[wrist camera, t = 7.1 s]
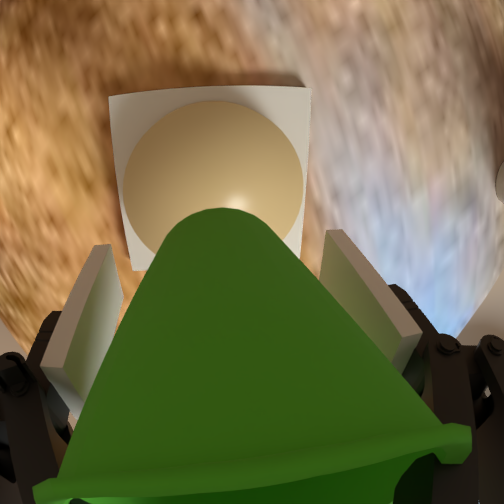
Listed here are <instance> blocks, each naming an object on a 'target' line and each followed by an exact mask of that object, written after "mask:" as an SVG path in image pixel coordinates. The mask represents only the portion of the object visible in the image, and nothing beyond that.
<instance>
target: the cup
mask: <svg viewBox="0 0 504 504" xmlns="http://www.w3.org/2000/svg"><path fill="white" fill-rule="evenodd" d="M471 451H472V435H471V427H470V426H465V425H460V424H456V423H448V424H442V423H441V422H440V421H439V419H438V418H437V417H436V416H435V414H434V413H433V412H432V411H431V410H430V408H429V407H428V406H427V405H426V404H425V402H424V401H423V400H422V399H421V398H420V396H419V395H418V394H417V393H416V392H415V390H414V389H413V388H412V387H411V386H410V384H409V383H408V382H407V381H406V380H405V379H404V377H403V376H402V375H401V374H400V373H399V371H398V370H397V369H396V368H395V367H394V366H393V364H392V363H391V362H390V361H389V360H388V359H387V357H386V356H385V355H384V354H383V353H382V352H381V351H380V349H379V348H378V347H377V346H376V345H375V344H374V342H373V341H372V340H371V339H370V338H369V337H368V336H367V334H366V333H365V332H364V331H363V330H362V329H361V328H360V326H359V325H358V324H357V323H356V322H355V321H354V320H353V318H352V317H351V316H350V315H349V314H348V313H347V312H346V311H345V309H344V308H343V307H342V306H341V305H340V304H339V303H338V302H337V300H336V299H335V298H334V297H333V296H332V295H331V294H330V293H329V291H328V290H327V289H326V288H325V287H324V286H323V285H322V284H321V283H320V281H319V280H318V279H317V278H316V277H315V276H314V275H313V274H312V273H311V271H310V270H309V269H308V268H307V267H306V266H305V265H304V264H303V263H302V262H301V261H300V259H299V258H298V257H297V256H296V255H295V254H294V253H293V252H292V251H291V250H290V249H289V247H288V246H287V245H286V244H285V243H284V242H283V241H282V240H281V239H280V238H279V237H278V236H277V234H276V233H275V232H274V231H273V230H272V229H271V228H270V227H269V226H268V225H267V224H266V223H265V222H264V221H262V220H261V219H259V218H258V217H256V216H255V215H253V214H250V213H248V212H245V211H242V210H240V209H233V208H225V207H220V208H211V209H205V210H202V211H199V212H196V213H193V214H191V215H189V216H188V217H186V218H184V219H183V220H181V221H180V222H178V223H177V224H176V225H175V226H174V227H173V228H172V229H171V230H170V232H169V233H168V234H167V235H166V237H165V239H164V241H163V242H162V244H161V246H160V248H159V250H158V251H157V253H156V255H155V257H154V259H153V261H152V263H151V264H150V266H149V268H148V270H147V272H146V274H145V276H144V278H143V280H142V281H141V283H140V285H139V287H138V289H137V291H136V293H135V295H134V297H133V299H132V301H131V303H130V305H129V307H128V309H127V311H126V313H125V315H124V317H123V319H122V321H121V323H120V325H119V327H118V329H117V332H116V334H115V336H114V338H113V340H112V342H111V344H110V346H109V349H108V351H107V353H106V355H105V357H104V360H103V362H102V364H101V366H100V368H99V371H98V373H97V375H96V378H95V380H94V382H93V385H92V387H91V389H90V392H89V394H88V396H87V399H86V401H85V404H84V406H83V409H82V411H81V413H80V416H79V419H78V421H77V424H76V426H75V429H74V431H73V434H72V437H71V439H70V442H69V445H68V447H67V450H66V453H65V456H64V459H63V461H62V464H61V467H60V470H59V473H58V476H57V478H49V479H47V480H45V481H43V482H41V483H39V484H37V485H35V486H33V487H32V489H33V495H34V500H35V503H36V504H69V503H70V500H72V499H73V498H80V499H82V500H84V501H86V502H89V503H91V504H393V497H394V490H395V487H396V485H397V483H398V481H399V480H400V478H401V476H402V475H403V474H404V472H405V471H406V470H407V469H408V468H409V467H410V465H411V464H412V463H413V462H414V461H415V459H417V458H419V457H422V456H424V455H427V454H429V453H432V452H433V453H434V454H435V455H436V456H437V458H438V459H439V461H440V462H441V464H462V463H463V462H464V461H465V459H466V458H467V457H468V455H469V454H470V453H471Z"/></svg>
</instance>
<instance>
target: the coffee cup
mask: <svg viewBox="0 0 504 504" xmlns="http://www.w3.org/2000/svg"><path fill="white" fill-rule="evenodd" d="M496 194H497V197H498V199H499V200H500V201H501V202H502V203H503V204H504V161H503V163H502V165H501V166H500V169H499V171H498V174H497V179H496Z"/></svg>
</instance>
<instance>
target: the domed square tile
mask: <svg viewBox="0 0 504 504" xmlns="http://www.w3.org/2000/svg"><path fill="white" fill-rule="evenodd" d="M311 91H312V88H306V87H289V86H258V85H233V86H202V87H185V88H172V89H161V90H152V91H143V92H135V93H128V94H121V95H114V96H109V113H110V125H111V136H112V146H113V155H114V164H115V172H116V179H117V186H118V193H119V200H120V206H121V212H122V218H123V224H124V229H125V235H126V240H127V245H128V250H129V255H130V260H131V265H132V269H133V271H141V270H148V268H149V266H150V264H151V263H152V261H153V259H154V257H155V255H156V253H157V251H158V250H159V248H160V246H161V244H162V242H163V241H164V239H165V237H166V235H167V234H168V233H169V232H170V230H171V229H172V228H173V227H174V226H175V225H176V224H177V223H178V222H180V221H181V220H183V219H184V218H186V217H188V216H189V215H191V214H193V213H196V212H199V211H202V210H205V209H211V208H220V207H225V208H233V209H240V210H242V211H245V212H248V213H250V214H253V215H255V216H256V217H258V218H259V219H261V220H262V221H264V222H265V223H266V224H267V225H268V226H269V227H270V228H271V229H272V230H273V231H274V232H275V233H276V234H277V236H278V237H279V238H280V239H281V240H282V241H283V242H284V243H285V244H286V245H287V246H288V247H289V249H290V250H291V251H292V252H293V253H294V254H295V255H296V256H297V257H298V258H299V259H300V250H301V240H302V229H303V218H304V206H305V193H306V180H307V166H308V150H309V133H310V114H311Z"/></svg>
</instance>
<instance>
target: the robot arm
mask: <svg viewBox="0 0 504 504" xmlns="http://www.w3.org/2000/svg"><path fill="white" fill-rule="evenodd" d="M319 281H320V283H321V284H322V285H323V286H324V287H325V288H326V289H327V290H328V291H329V293H330V294H331V295H332V296H333V297H334V298H335V299H336V300H337V302H338V303H339V304H340V305H341V306H342V307H343V308H344V309H345V311H346V312H347V313H348V314H349V315H350V316H351V317H352V318H353V320H354V321H355V322H356V323H357V324H358V325H359V326H360V328H361V329H362V330H363V331H364V332H365V333H366V334H367V336H368V337H369V338H370V339H371V340H372V341H373V342H374V344H375V345H376V346H377V347H378V348H379V349H380V351H381V352H382V353H383V354H384V355H385V356H386V357H387V359H388V360H389V361H390V362H391V363H392V364H393V366H394V367H395V368H396V369H397V370H398V371H399V373H400V374H401V375H402V376H403V377H404V379H405V380H406V381H407V382H408V383H409V384H410V386H411V387H412V388H413V389H414V390H415V392H416V393H417V394H418V395H419V396H420V398H421V399H422V400H423V401H424V402H425V404H426V405H427V406H428V407H429V408H430V410H431V411H432V412H433V413H434V414H435V416H436V417H437V418H438V419H439V421H440V422H441V423H442V424H448V423H456V424H460V425H465V426H470V427H471V435H472V451H471V453H470V454H469V455H468V457H467V458H466V459H465V461H464V462H463V463H462V464H441V462H440V461H439V459H438V458H437V456H436V455H435V454H434V453H433V452H432V453H429V454H427V455H424V456H422V457H419V458H417V459H415V461H414V462H413V463H412V464H411V465H410V467H409V468H408V469H407V470H406V471H405V472H404V474H403V475H402V476H401V478H400V480H399V481H398V483H397V485H396V487H395V490H394V497H393V504H478V502H479V503H480V504H504V341H503V340H502V339H500V338H499V337H497V336H494V335H485V336H483V337H482V339H481V340H480V342H479V344H478V345H477V346H464V345H461V344H460V343H459V341H458V340H457V339H455V338H454V337H452V336H450V335H447V334H439V333H438V332H437V330H436V329H435V328H434V326H433V325H432V324H431V323H430V321H429V320H428V319H427V317H426V316H425V315H424V313H423V312H422V311H421V310H420V309H419V308H418V306H417V305H416V303H415V302H413V300H412V298H411V297H410V296H409V295H408V293H407V292H406V291H405V290H403V289H402V288H400V287H399V286H397V285H396V284H392V285H387V284H386V282H385V281H384V280H383V279H382V277H381V276H380V275H379V274H378V272H377V271H376V270H375V269H374V267H373V266H372V265H371V264H370V262H369V261H368V260H367V259H366V257H365V256H364V255H363V254H362V253H361V251H360V250H359V249H358V248H357V247H356V245H355V244H354V243H353V242H352V241H351V239H350V238H349V237H348V236H347V235H346V233H345V232H344V231H343V230H342V229H339V230H326V235H325V243H324V250H323V257H322V264H321V271H320V278H319ZM123 297H124V296H123V292H122V288H121V285H120V281H119V277H118V273H117V269H116V265H115V260H114V256H113V252H112V247H111V244H105V245H94V247H93V249H92V251H91V253H90V255H89V257H88V259H87V260H86V262H85V264H84V266H83V268H82V270H81V272H80V274H79V276H78V278H77V280H76V282H75V284H74V287H73V289H72V291H71V293H70V295H69V297H68V299H67V301H66V304H65V306H64V308H63V310H62V311H52V312H51V313H50V314H49V315H48V316H47V317H46V319H45V320H44V321H43V323H42V325H41V327H40V330H39V333H38V334H37V336H36V338H35V341H34V343H33V345H32V348H31V350H30V352H29V355H28V357H27V360H26V361H25V359H24V357H23V356H22V355H21V354H19V353H16V352H7V353H4V354H3V355H1V356H0V504H36V503H35V500H34V495H33V489H32V487H33V486H35V485H37V484H39V483H41V482H43V481H45V480H47V479H49V478H57V476H58V473H59V470H60V467H61V464H62V461H63V459H64V456H65V453H66V450H67V447H68V445H69V442H70V439H71V437H72V434H73V429H72V427H71V425H70V423H69V422H68V421H67V420H68V415H69V411H70V412H71V413H72V415H73V416H74V417H75V419H76V420H78V419H79V416H80V413H81V411H82V409H83V406H84V404H85V401H86V399H87V396H88V394H89V392H90V389H91V387H92V385H93V382H94V380H95V378H96V375H97V373H98V371H99V368H100V366H101V364H102V362H103V360H104V357H105V355H106V353H107V351H108V349H109V346H110V344H111V342H112V340H113V337H114V333H115V328H116V324H117V320H118V316H119V312H120V309H121V305H122V301H123ZM488 387H489V390H490V392H491V394H490V396H489V397H487V396H486V395H485V390H486V389H487V388H488ZM69 504H91V503H89V502H86V501H84V500H82V499H80V498H73V499H72V500H70V503H69Z"/></svg>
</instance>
